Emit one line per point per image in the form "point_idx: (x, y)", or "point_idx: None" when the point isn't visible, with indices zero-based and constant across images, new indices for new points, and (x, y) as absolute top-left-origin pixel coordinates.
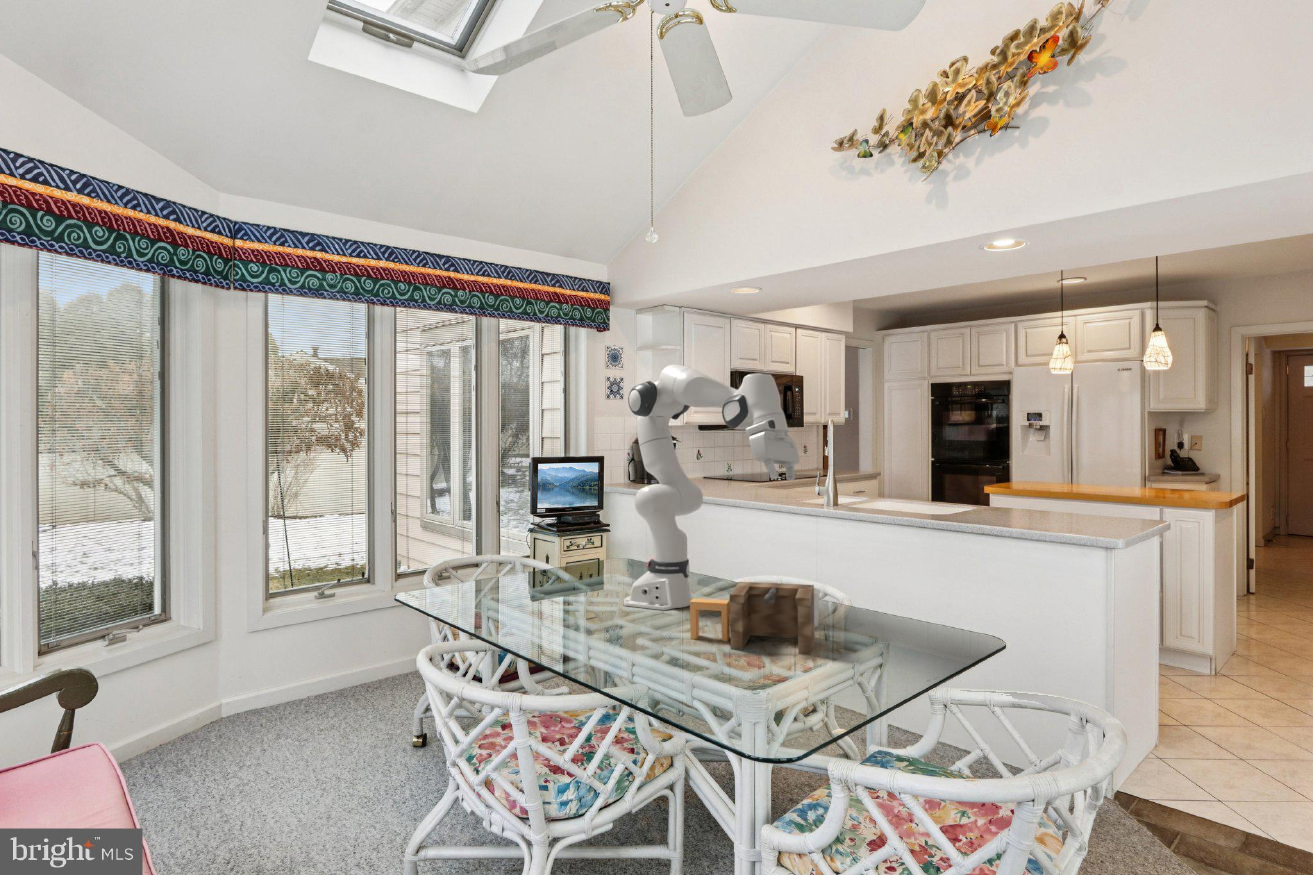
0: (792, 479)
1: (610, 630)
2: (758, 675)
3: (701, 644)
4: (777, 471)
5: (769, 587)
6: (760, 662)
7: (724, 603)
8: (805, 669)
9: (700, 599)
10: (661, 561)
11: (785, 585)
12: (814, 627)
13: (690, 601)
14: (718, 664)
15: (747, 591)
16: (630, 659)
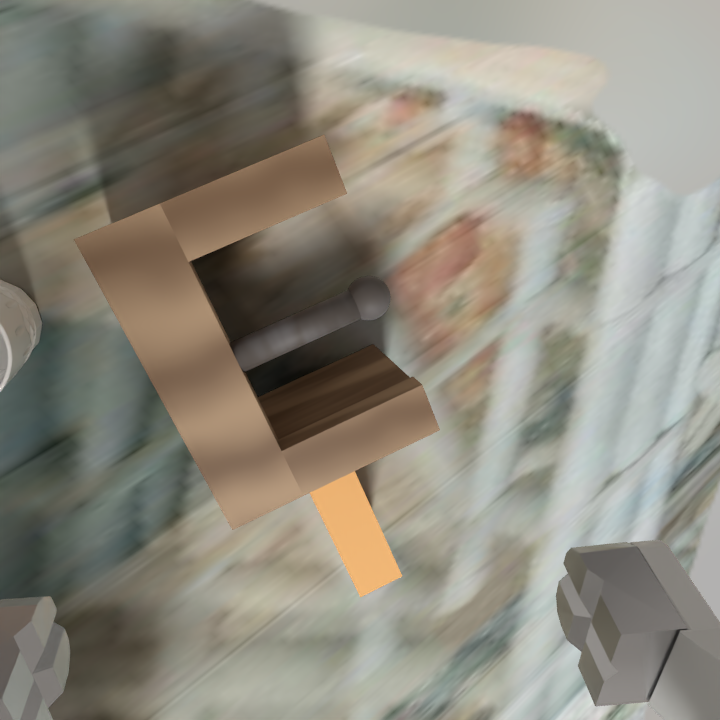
0: (18, 600)
1: (432, 708)
2: (527, 193)
3: (396, 460)
4: (627, 622)
5: (245, 377)
6: (438, 243)
7: (357, 477)
8: (420, 105)
9: (357, 570)
10: None
11: (171, 341)
12: (4, 281)
13: (399, 576)
14: (509, 325)
15: (329, 424)
16: (585, 511)
